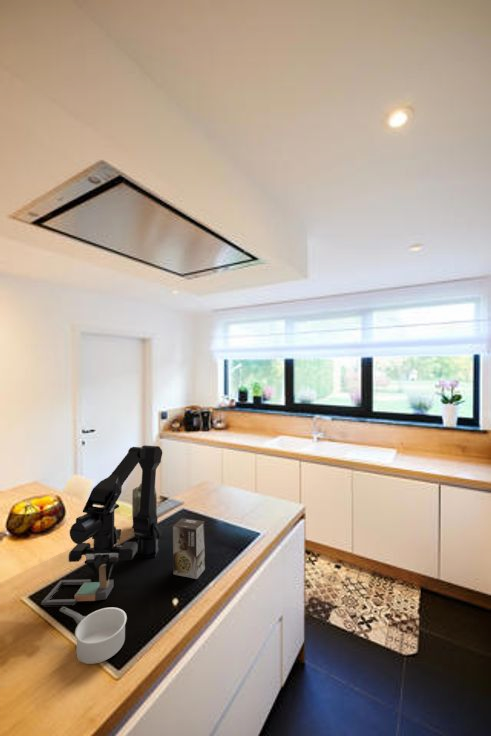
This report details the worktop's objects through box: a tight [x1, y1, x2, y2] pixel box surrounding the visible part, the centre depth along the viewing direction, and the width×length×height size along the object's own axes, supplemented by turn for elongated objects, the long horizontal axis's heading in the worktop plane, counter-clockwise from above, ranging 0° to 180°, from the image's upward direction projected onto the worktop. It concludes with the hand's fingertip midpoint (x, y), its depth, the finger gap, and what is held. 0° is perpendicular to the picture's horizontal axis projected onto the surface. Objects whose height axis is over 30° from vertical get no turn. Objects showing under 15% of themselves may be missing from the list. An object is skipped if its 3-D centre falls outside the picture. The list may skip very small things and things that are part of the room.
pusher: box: [95, 563, 115, 601], centre depth 96 cm, size 3×6×8 cm, turn 2°
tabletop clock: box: [131, 483, 158, 519], centre depth 136 cm, size 14×9×25 cm, turn 22°
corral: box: [40, 578, 92, 607], centre depth 95 cm, size 10×10×1 cm
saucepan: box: [59, 606, 128, 665], centre depth 78 cm, size 12×20×6 cm, turn 66°
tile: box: [73, 581, 100, 602], centre depth 95 cm, size 6×6×2 cm
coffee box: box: [172, 517, 206, 580], centre depth 107 cm, size 9×6×16 cm
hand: (103, 579), depth 96 cm, fingers closed on pusher, 2 cm apart
